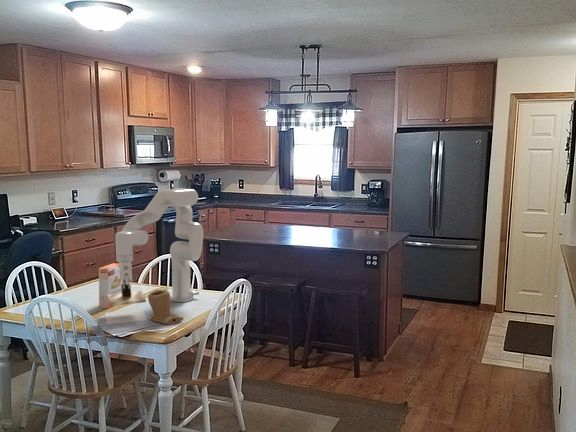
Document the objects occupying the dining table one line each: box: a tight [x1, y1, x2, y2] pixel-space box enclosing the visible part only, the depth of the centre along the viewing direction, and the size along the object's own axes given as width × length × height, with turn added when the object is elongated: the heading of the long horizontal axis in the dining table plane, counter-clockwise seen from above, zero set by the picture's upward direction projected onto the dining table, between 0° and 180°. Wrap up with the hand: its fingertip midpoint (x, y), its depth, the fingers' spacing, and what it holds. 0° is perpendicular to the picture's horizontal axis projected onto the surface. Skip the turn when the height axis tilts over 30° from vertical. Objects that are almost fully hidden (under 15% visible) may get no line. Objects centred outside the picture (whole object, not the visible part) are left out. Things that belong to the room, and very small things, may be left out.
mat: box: [104, 308, 148, 325], centre depth 252 cm, size 18×18×1 cm
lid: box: [108, 283, 147, 307], centre depth 251 cm, size 16×16×7 cm
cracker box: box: [98, 262, 122, 309], centre depth 270 cm, size 14×6×21 cm, turn 168°
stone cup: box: [147, 289, 184, 325], centre depth 245 cm, size 15×12×15 cm
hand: (126, 294), depth 251 cm, fingers closed on lid, 4 cm apart
